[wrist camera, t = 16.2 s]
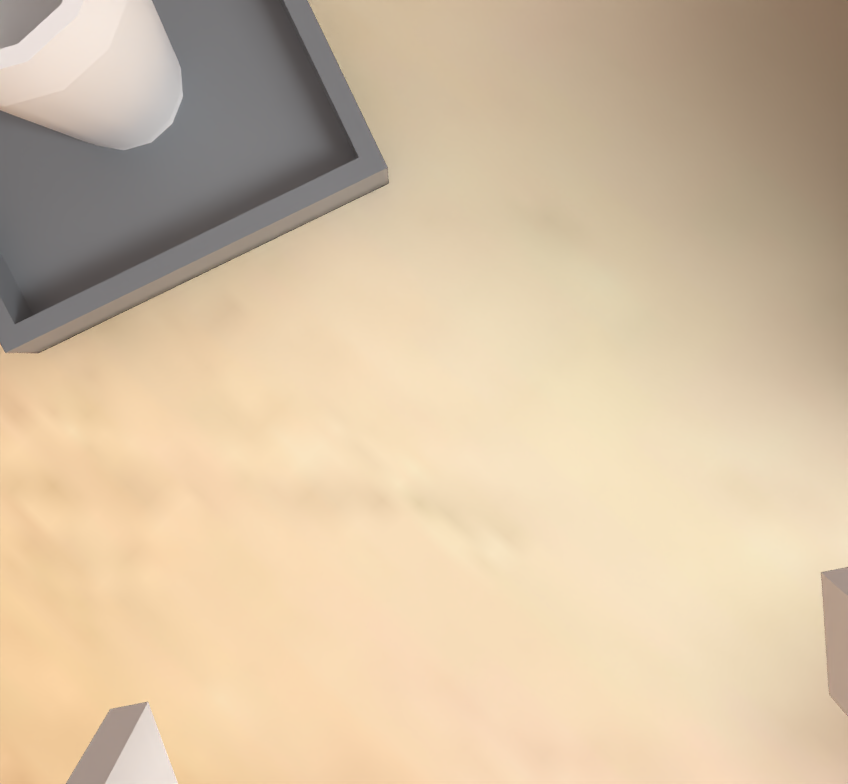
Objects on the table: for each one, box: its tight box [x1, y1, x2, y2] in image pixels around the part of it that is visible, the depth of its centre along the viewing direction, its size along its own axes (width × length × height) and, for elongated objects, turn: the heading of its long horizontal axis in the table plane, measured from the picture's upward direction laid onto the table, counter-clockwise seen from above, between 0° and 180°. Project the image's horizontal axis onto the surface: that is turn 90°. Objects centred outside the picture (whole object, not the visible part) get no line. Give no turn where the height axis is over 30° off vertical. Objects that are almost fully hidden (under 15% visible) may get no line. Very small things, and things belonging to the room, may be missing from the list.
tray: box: [0, 0, 389, 353], centre depth 34 cm, size 20×20×3 cm
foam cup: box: [0, 0, 183, 150], centre depth 28 cm, size 10×9×13 cm
